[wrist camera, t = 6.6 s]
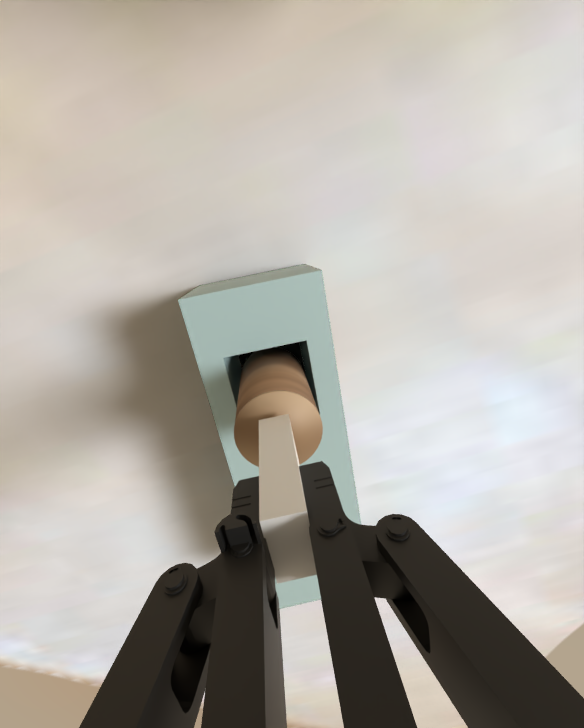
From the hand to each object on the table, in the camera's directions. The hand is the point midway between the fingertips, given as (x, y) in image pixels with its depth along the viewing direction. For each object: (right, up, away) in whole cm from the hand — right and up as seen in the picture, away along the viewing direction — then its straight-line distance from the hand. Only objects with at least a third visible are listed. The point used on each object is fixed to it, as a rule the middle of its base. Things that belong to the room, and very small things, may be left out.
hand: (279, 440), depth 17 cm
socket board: (0, -2, +16) cm, 16 cm away
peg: (-1, +3, +8) cm, 9 cm away
